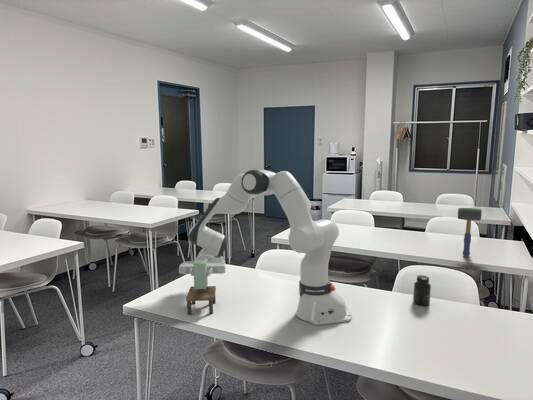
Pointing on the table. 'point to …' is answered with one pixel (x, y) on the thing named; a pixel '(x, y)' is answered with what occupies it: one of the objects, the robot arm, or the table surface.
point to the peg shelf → (201, 297)
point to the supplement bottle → (422, 291)
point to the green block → (200, 274)
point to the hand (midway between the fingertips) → (200, 274)
